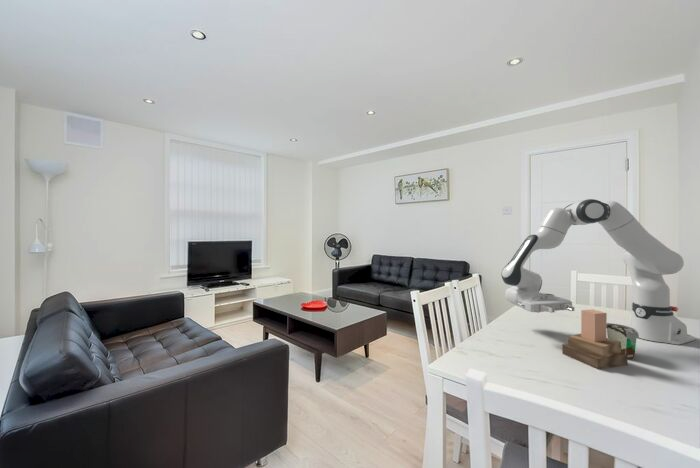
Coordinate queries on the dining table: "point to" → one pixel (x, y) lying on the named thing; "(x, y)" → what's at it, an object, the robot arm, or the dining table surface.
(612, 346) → the tower top
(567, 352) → the tower base
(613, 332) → the food container
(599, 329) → the pillar
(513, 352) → the dining table surface
